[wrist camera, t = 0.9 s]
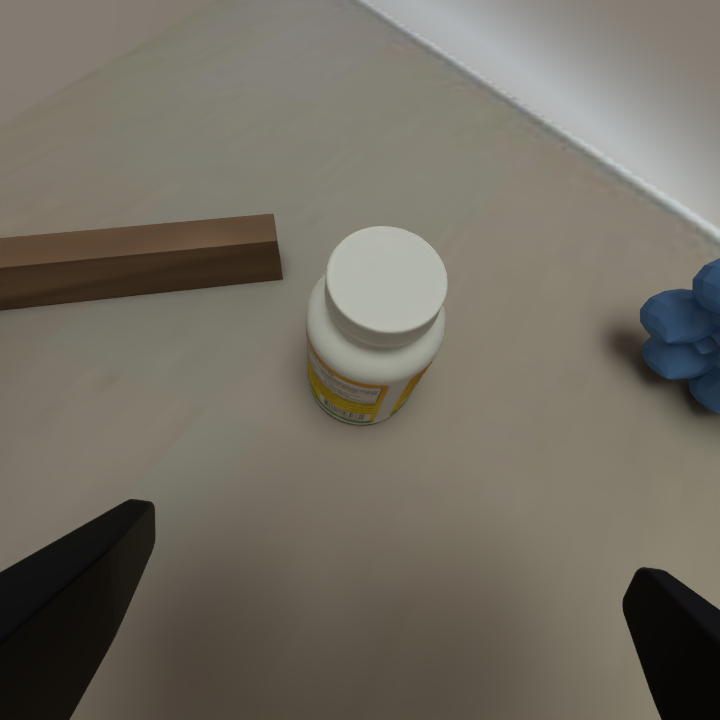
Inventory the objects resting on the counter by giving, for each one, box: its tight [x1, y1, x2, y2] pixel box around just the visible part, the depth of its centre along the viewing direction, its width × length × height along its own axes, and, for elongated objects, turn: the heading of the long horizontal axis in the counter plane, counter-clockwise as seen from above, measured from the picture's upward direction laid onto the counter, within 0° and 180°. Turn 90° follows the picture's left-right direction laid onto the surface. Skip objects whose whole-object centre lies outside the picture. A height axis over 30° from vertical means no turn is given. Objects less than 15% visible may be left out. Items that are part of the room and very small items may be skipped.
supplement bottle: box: [306, 226, 448, 425], centre depth 19 cm, size 5×5×10 cm
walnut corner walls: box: [0, 214, 283, 310], centre depth 20 cm, size 16×17×4 cm
